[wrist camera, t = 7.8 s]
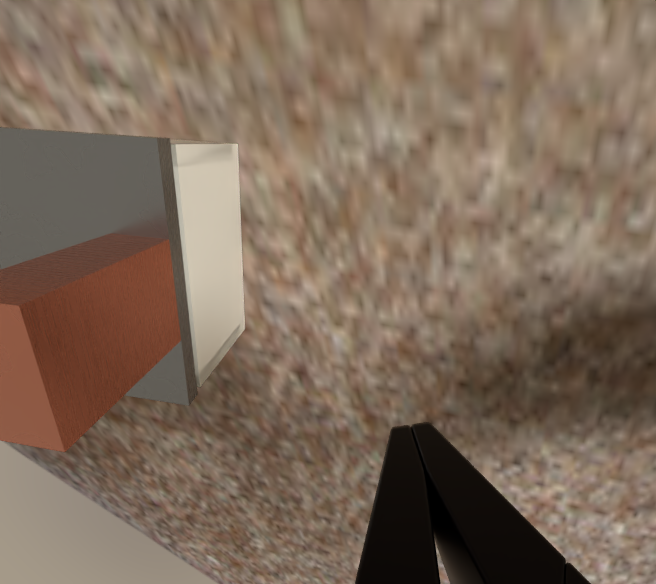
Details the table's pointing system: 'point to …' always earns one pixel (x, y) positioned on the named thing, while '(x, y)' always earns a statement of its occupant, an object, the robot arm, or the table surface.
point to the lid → (88, 282)
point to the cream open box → (210, 247)
